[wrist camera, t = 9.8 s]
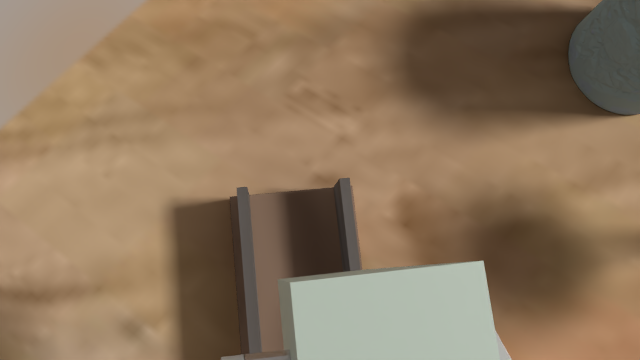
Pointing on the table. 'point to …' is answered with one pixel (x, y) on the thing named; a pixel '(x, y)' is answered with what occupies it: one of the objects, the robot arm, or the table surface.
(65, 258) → the table surface
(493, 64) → the table surface
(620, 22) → the blue-grey cylindrical cup
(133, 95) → the table surface
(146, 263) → the table surface
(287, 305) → the pale green eraser block
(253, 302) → the track
